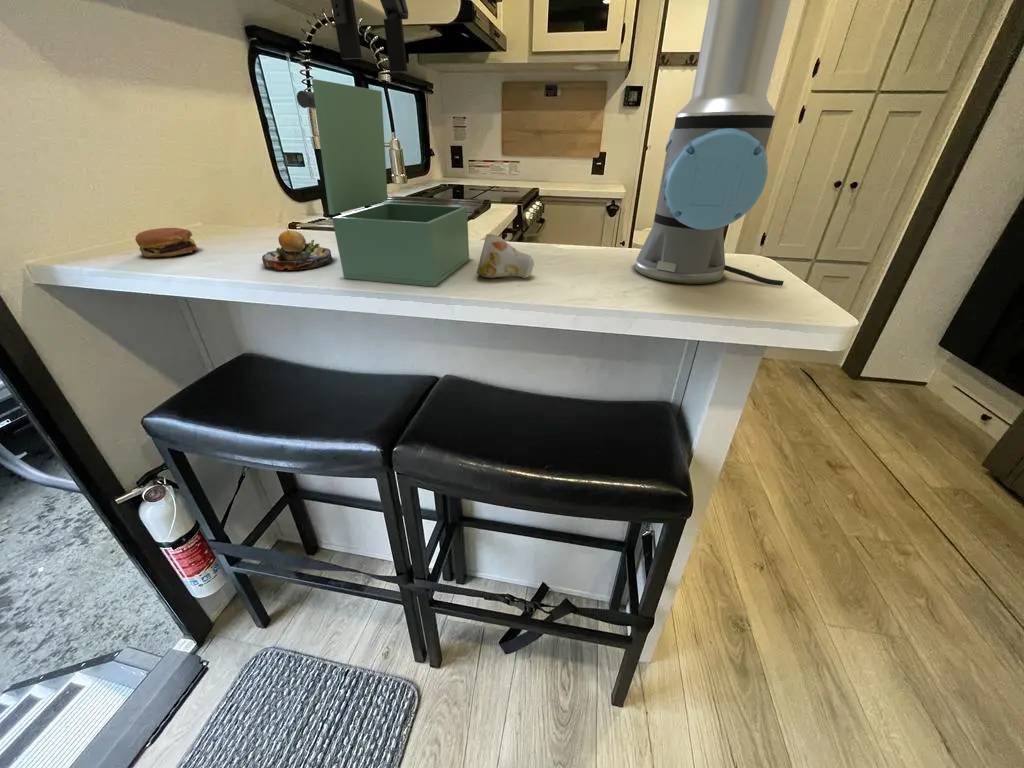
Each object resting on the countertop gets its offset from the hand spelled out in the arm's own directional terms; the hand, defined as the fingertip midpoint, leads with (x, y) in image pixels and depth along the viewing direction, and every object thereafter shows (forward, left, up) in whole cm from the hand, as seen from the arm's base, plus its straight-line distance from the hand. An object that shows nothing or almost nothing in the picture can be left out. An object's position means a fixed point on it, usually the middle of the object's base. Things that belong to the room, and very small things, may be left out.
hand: (377, 66), depth 61 cm
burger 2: (+20, +2, -30) cm, 36 cm away
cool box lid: (+5, 0, -11) cm, 12 cm away
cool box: (-2, 0, -30) cm, 30 cm away
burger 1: (+49, +3, -30) cm, 58 cm away
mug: (-20, 0, -30) cm, 36 cm away
